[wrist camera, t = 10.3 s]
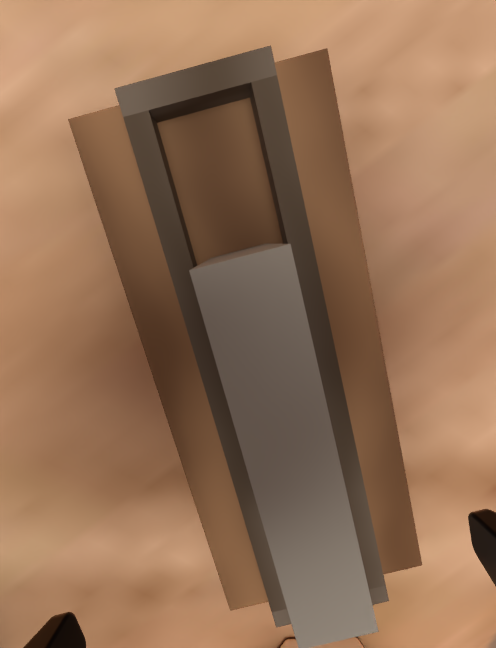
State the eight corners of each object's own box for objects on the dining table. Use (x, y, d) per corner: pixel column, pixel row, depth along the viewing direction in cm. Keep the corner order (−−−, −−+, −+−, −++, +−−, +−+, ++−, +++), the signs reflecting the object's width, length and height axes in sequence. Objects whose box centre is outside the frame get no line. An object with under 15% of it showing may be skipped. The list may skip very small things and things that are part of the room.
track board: (230, 586, 22) (229, 638, 19) (83, 130, 17) (50, 106, 14) (409, 543, 22) (436, 589, 19) (319, 65, 17) (336, 27, 14)
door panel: (273, 485, 19) (299, 650, 11) (211, 257, 17) (188, 270, 9) (320, 473, 19) (378, 631, 11) (265, 243, 17) (290, 243, 9)
